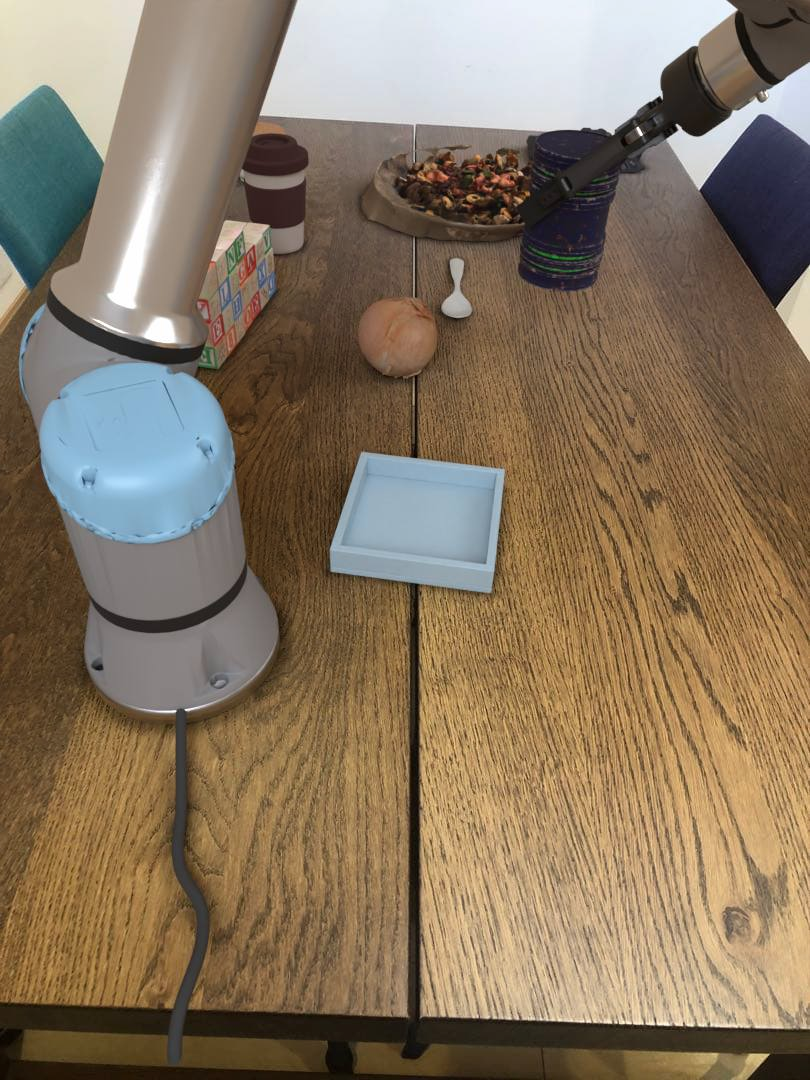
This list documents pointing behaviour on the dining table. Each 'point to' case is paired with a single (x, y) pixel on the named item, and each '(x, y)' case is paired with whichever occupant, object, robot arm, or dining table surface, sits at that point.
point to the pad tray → (420, 522)
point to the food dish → (450, 195)
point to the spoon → (456, 294)
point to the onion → (398, 336)
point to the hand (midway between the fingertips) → (544, 203)
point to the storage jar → (567, 217)
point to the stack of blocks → (235, 287)
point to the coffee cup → (277, 188)
